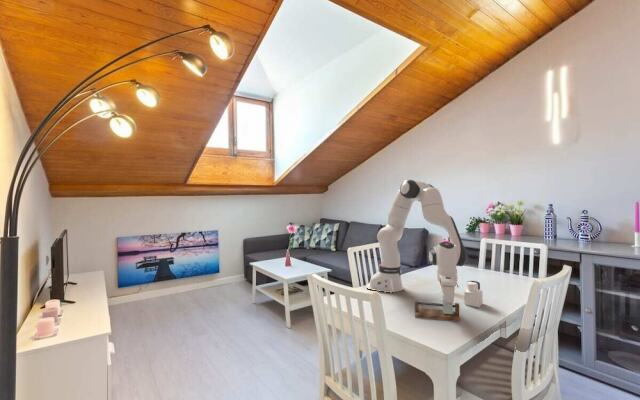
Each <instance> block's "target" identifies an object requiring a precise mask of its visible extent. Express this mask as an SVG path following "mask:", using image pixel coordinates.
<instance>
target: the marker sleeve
mask: <svg viewBox="0 0 640 400" xmlns="http://www.w3.org/2000/svg"><path fill="white" fill-rule="evenodd" d="M453 303H454V302H453ZM453 303H451V304H450V309H448V308H446V302H445V301H444V295H443V294H442V304H443V307H442V310H443V313H444V314H453V311H454V309H453V308H454V307H453V305H454V304H453Z"/></svg>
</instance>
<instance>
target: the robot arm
mask: <svg viewBox="0 0 640 400" xmlns="http://www.w3.org/2000/svg"><path fill="white" fill-rule="evenodd" d="M442 198H443V197H442V195H441V192H440V190H439V189H438V188H437V187H435V186H434V185H432V184H431V183H426V182H425V181H420V180H419V181H418V180H413V179H405V180H404V181H402V183H401V184H400V187H399V189H398V191H397V193H396V195H395V196H394V198H393V201H392V203H391V206H390V208H389V211H388V214H387V215H388V217H387V222H386V223H387V224H386V225H385V226H384V227H382V228H380V230H379V231H377V232H378V233H376V234H377V235H376V238H377V239H376V240H377V242H378V243H379V247H380V251H381V252H380V253H381V254H380V255H381V264H378V271H377V272H376V273H374V274H372V276H371V277H370V281H369V283H367V284H366V285H365V287H366V289H367V288H368V289H375V290H378V291H377V292H379V290H380V291H384V292H383V293H386V292H390V293H389V294H392V292H393V293H396V292H397V293H398V292H401V291H403V290H404V286H403V283H402V282H403V281H402V266H401V253H400V251H399V247H398V241H399V240H401V238H402V236H403V234H404V230H405V225H406V221H407V219H408V215H409V214H410V212H411V209H412V205H413V203H414V202H416V201H418V202H420V203H421V205H420V206H421V211H422V212H421V213H422V216H423V218H424V220H425V221H426V222H428V223H429V224H431V225H435V226H437V227H440V228H442V229H444V230H445V231H446V232H447V234H448V237H449V240H450V242H448V241H441V242H439V243H438V244H437V245H436V246H432V247H431V248H430V249H429V250H428V252H427V253H428V261H429V263H430V264H431V265H433V266H436V267H437V269H436V272H437V273H436V275H437V276H436V277H437V281H439V283H440V285H441V289H442V293H443V294H442V296H443V295H444V301H445V302H446V308H448V309H450V304H451V303H454V301H455V300H454V299H455V290H456V289H455V288H456V287H457V283H458V269H457V267H462V266H464V265H465V264H466V263H467V262H468V260H469V255H468V251H467V249H466V247H465V245H464V243H463V241H462V238H461V235H460V233H459V230H458V228H457V224H456V222H455V220H454V218H453V217H452V216H451V215H449V214H448V212H447V211H446V210H445V207H444V201H443V199H442Z"/></svg>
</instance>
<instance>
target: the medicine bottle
mask: <svg viewBox="0 0 640 400" xmlns="http://www.w3.org/2000/svg"><path fill="white" fill-rule="evenodd" d="M483 301H484V300H483V290H482V289H481V284H480V282H478V281H477V280H469V281H467V283H466V290H465V291H464V305H465V306H470V307H474V308H480V307H481V306H482V305H483Z"/></svg>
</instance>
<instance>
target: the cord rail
mask: <svg viewBox="0 0 640 400" xmlns="http://www.w3.org/2000/svg"><path fill="white" fill-rule="evenodd" d="M419 305H421V306H432V307H433V306H434V307H442V308H443V303H437V302H436V303H435V302H426V301H425V302H424V301H419V300H418V299H415V300H414V317H415V318H419V317H420V318H421V319H429V320H431V319H432V320H441V321H449V322H451V321H452V322H461V317H460V303H458V302H456V303H454V304H453V308H454V310H453V314H444V313H443V309H442V310H441V309H436V308H435V309H433V308H424V307H423V308H422V307H419Z"/></svg>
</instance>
